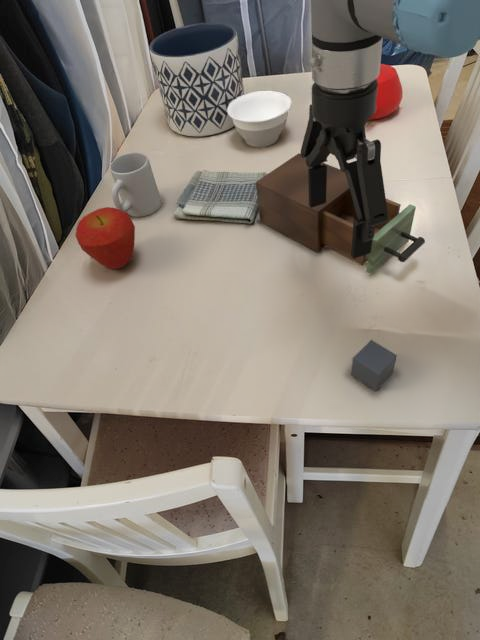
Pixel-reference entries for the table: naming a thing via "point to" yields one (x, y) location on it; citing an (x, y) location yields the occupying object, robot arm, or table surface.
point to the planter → (198, 76)
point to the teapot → (387, 92)
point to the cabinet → (297, 201)
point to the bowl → (260, 116)
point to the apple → (107, 236)
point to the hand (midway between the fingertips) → (337, 227)
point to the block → (373, 365)
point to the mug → (134, 185)
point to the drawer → (386, 234)
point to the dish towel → (220, 197)
